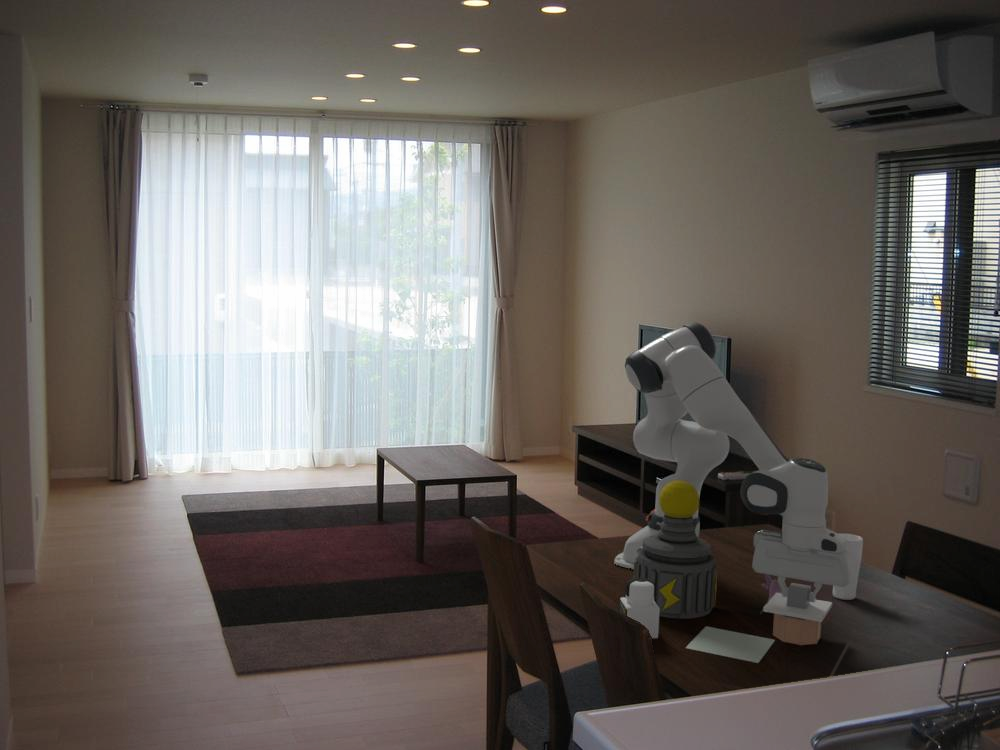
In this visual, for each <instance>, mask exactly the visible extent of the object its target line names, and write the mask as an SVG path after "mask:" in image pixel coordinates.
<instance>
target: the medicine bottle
mask: <svg viewBox="0 0 1000 750" xmlns="http://www.w3.org/2000/svg"><path fill="white" fill-rule="evenodd" d="M654 593H655V584H654V582H653V581H651V580H649V579H646V578H634V577H633V578H630V579H628V580H627V581H626V584H625V597H624V596H622V597H619V598H620V599H619V611H620V612H621V613H623V614H625V615H626V616H628V617H630V618H632V619H634V620H636V621H638V622H640V623H641V624H642V625H644V626H645V627H646V628H647V629H648V630H649V633H650V635H651V637H652V638H651V639H658V638H659V628H660V616H659V611H660V609H659V607H658V606H657V604H656V603H655V601H654Z"/></svg>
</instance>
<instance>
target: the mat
mask: <svg viewBox="0 0 1000 750" xmlns="http://www.w3.org/2000/svg"><path fill="white" fill-rule="evenodd" d="M775 641H776V639H772V638H768V637H763V636H758V635H752V634H747V633H742V632H737V631H733V630H732V631H731V630H727V629H722V628H716V627H712V626H707V625H706V626H705V627H704V628H703V629H702V630H700V631H699V633H698V634H697V635H696V636H695V637H693V639H692V640H691V641H690V642H689V643H688V645H687V646H686V647H685V649H688V650H691V651H692V650H693V651H698V652H703V653H707V654H713V655H717V656H722V657H726V658H727V657H728V658H732V659H735V660H741V661H747V662H751V663H756V664H759V663H760V661H761V660H762V659H763V657H764V656H765V655H766V653H767V652H768V651H769V649H770V648H771V647H772V645H773V644H774V642H775Z"/></svg>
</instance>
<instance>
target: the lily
mask: <svg viewBox="0 0 1000 750" xmlns="http://www.w3.org/2000/svg"><path fill="white" fill-rule="evenodd" d="M762 575H763V576H764V579H765V581H766V583H764V582H762V583H760V586H761V587H763V588H764V589H766V590H767V591H768V600H767V601H765V603H764V605H763V607H762V609H761V611H760V613H759V614H760V615H762V614H763V612H764V611H763V608H764V606H765V605H766V604H767V603H768V602H769V600H770V599H771V598H772V597H773V596H774V595H775V593H782V589H781V587H780V585H779V583H778V580H777V579H776V578H775V579H772V577H771V575H769V574H763V573H762Z"/></svg>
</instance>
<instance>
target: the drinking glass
mask: <svg viewBox="0 0 1000 750" xmlns="http://www.w3.org/2000/svg"><path fill="white" fill-rule="evenodd" d="M839 534H840V535H842V536H844V537H846V538H847V547H846V550H847V551H848V553H849V555H850V560H851V581H850V583H849V584H848V585H847V586H846V587H840V586H834V585H832V596H833V597H834V598H836V599H839V600H842V601H843V600H844V601H850V600H851V601H852V600H855V599H856V597H857V587H858V583H859V582H858V580H859V575H860V568H861V562H862V558H863V549H864V548H863V545H864V542H863V541H864V539H863V537H862V536H859V535H856V534H852V533H839Z"/></svg>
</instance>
